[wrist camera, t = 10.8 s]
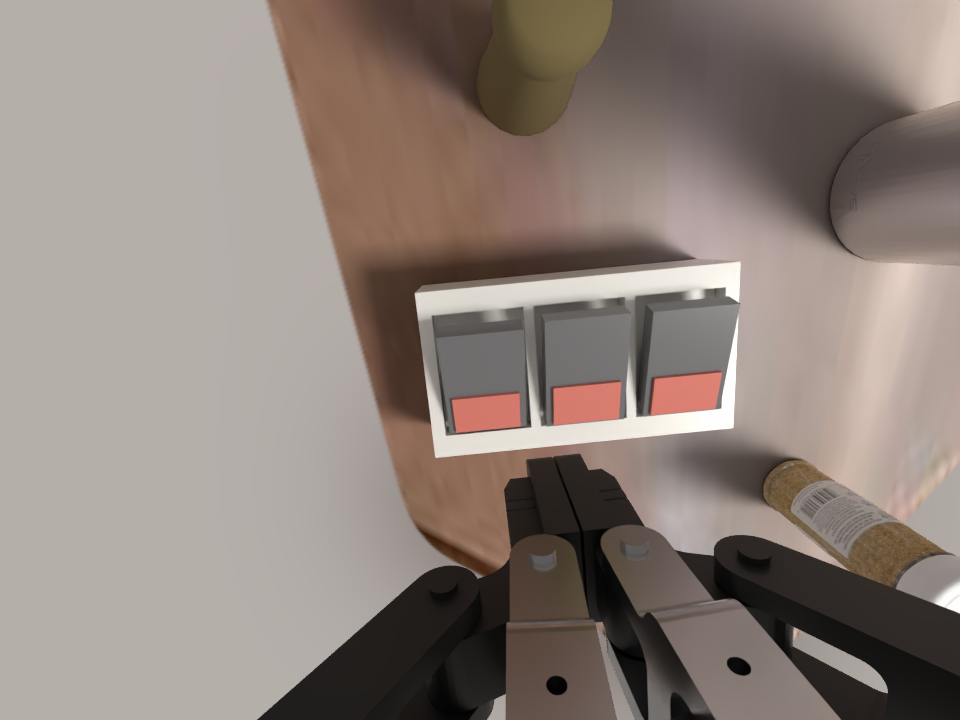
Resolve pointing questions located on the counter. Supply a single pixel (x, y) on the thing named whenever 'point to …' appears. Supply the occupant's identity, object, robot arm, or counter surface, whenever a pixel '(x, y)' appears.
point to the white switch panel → (528, 303)
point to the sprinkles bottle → (863, 534)
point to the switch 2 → (685, 355)
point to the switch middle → (585, 365)
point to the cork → (537, 59)
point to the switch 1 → (483, 375)
